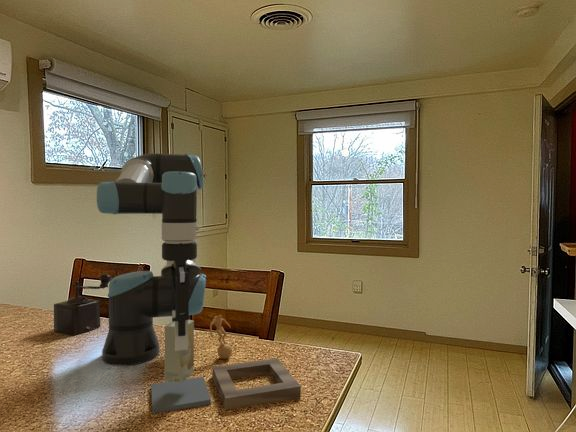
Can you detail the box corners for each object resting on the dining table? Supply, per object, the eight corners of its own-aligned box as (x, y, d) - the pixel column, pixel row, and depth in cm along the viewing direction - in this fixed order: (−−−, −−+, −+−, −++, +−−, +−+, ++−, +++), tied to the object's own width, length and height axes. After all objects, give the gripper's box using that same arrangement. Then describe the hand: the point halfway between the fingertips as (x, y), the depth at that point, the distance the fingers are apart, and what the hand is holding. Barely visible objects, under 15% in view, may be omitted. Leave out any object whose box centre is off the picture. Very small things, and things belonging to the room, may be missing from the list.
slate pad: (151, 388, 93) (151, 383, 93) (203, 380, 97) (203, 376, 97) (152, 413, 82) (152, 409, 82) (210, 404, 86) (210, 399, 86)
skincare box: (182, 384, 86) (182, 328, 85) (163, 382, 87) (163, 326, 86) (194, 371, 92) (194, 319, 92) (177, 369, 93) (177, 318, 92)
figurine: (220, 364, 107) (220, 320, 106) (203, 360, 110) (203, 317, 109) (239, 354, 114) (239, 313, 113) (223, 350, 117) (223, 310, 117)
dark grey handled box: (75, 336, 128) (74, 281, 128) (52, 331, 133) (52, 278, 133) (114, 323, 142) (114, 273, 142) (93, 319, 147) (92, 271, 147)
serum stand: (212, 376, 100) (212, 366, 99) (276, 367, 105) (277, 358, 105) (225, 410, 84) (225, 398, 83) (300, 397, 89) (300, 386, 89)
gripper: (202, 245, 80) (202, 357, 81) (191, 237, 99) (191, 328, 100) (164, 246, 78) (164, 362, 78) (160, 238, 97) (160, 331, 97)
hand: (179, 343), depth 89 cm, fingers closed on skincare box, 7 cm apart
